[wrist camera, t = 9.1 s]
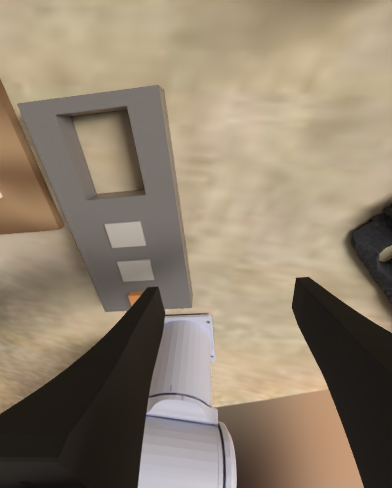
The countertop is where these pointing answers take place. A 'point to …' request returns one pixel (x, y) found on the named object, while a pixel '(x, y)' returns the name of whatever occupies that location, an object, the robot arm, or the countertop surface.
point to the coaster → (21, 180)
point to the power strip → (118, 198)
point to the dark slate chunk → (376, 248)
